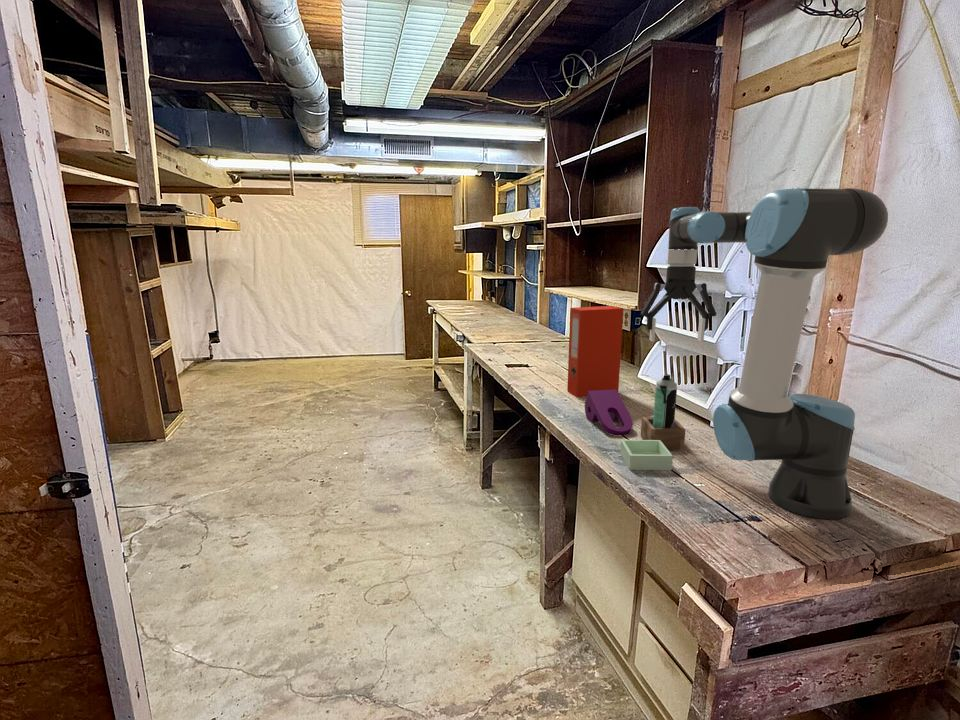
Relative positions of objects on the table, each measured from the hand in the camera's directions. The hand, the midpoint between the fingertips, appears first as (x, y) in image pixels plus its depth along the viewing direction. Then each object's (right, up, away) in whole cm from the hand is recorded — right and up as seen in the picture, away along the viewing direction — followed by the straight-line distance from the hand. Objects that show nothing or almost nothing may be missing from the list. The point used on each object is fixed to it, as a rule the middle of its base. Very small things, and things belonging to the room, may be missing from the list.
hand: (676, 341), depth 147 cm
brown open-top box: (-5, -29, -1) cm, 29 cm away
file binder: (-14, -18, +47) cm, 52 cm away
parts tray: (-14, -32, -14) cm, 37 cm away
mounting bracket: (-16, -26, +12) cm, 33 cm away
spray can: (-5, -29, -3) cm, 30 cm away
